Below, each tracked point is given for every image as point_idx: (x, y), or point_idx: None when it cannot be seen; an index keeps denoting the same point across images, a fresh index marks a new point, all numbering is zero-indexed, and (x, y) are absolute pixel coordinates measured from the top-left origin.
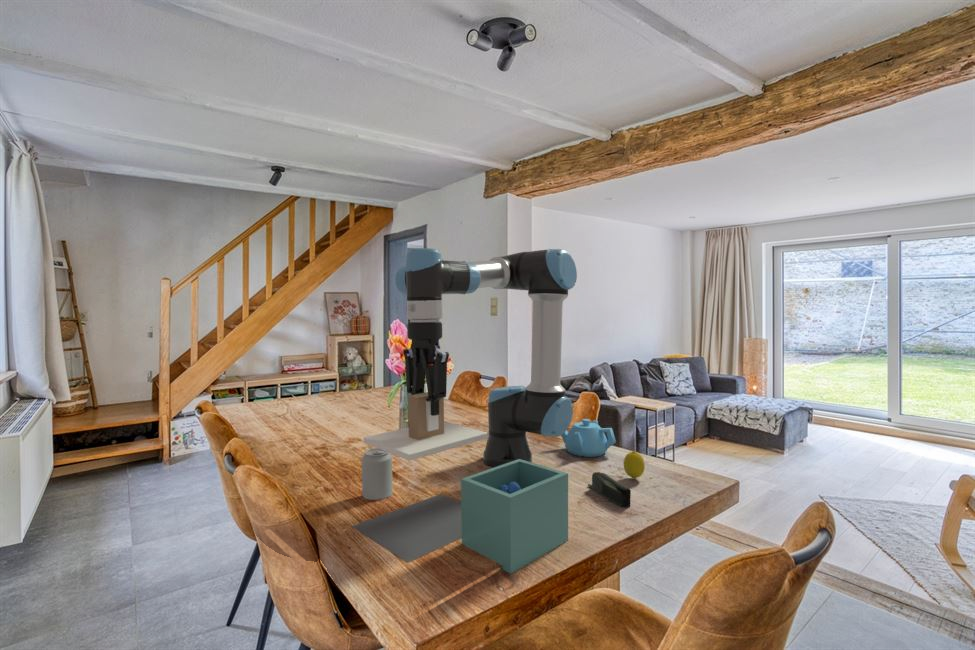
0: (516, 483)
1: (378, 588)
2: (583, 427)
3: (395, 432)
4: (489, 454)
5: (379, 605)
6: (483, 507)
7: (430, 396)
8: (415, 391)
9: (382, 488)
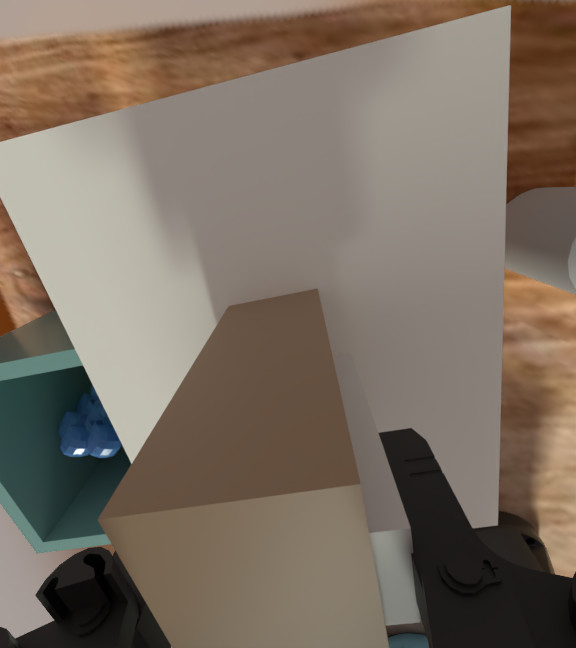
0: (93, 455)
1: (91, 58)
2: None
3: (459, 262)
4: (501, 537)
5: (30, 36)
6: (47, 337)
7: (75, 640)
8: (433, 643)
9: (508, 235)
